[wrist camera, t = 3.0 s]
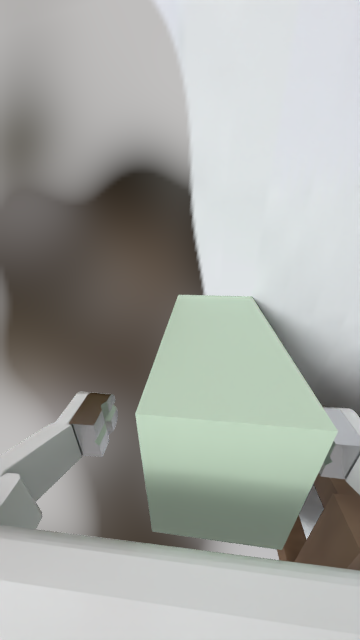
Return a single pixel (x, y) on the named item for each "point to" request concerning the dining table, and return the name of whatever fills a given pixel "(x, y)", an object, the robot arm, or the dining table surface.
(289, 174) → the dining table surface
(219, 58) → the dining table surface
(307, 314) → the dining table surface
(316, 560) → the wooden footstool
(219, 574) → the robot arm
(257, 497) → the sage block
